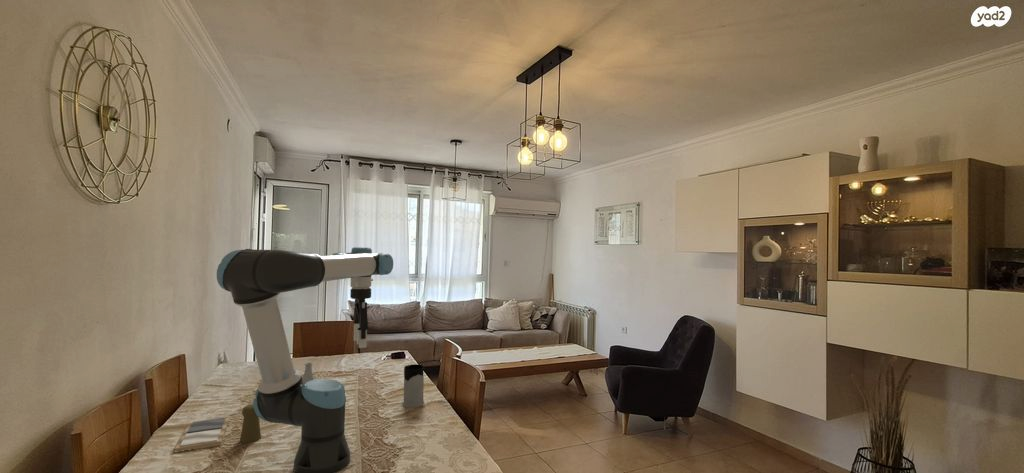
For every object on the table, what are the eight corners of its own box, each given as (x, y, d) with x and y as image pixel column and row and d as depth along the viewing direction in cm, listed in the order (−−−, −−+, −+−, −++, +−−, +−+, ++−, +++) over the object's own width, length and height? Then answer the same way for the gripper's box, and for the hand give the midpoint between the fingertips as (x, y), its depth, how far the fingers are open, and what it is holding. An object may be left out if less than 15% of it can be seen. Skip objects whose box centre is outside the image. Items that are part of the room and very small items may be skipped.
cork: (256, 433, 148) (257, 401, 149) (264, 438, 144) (265, 405, 145) (236, 439, 144) (237, 405, 144) (243, 445, 140) (244, 410, 140)
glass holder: (407, 409, 173) (408, 370, 173) (394, 399, 184) (394, 363, 185) (428, 404, 178) (428, 367, 178) (413, 395, 189) (414, 360, 190)
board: (221, 445, 140) (221, 440, 140) (174, 452, 134) (174, 447, 134) (229, 420, 159) (229, 416, 159) (189, 426, 154) (189, 421, 154)
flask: (299, 384, 203) (300, 362, 203) (316, 382, 206) (317, 360, 206) (299, 388, 196) (299, 366, 196) (316, 386, 199) (317, 364, 199)
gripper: (377, 290, 158) (375, 349, 157) (366, 284, 180) (364, 336, 180) (355, 291, 155) (353, 351, 154) (346, 285, 177) (345, 338, 176)
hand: (359, 343), depth 167 cm, fingers open, 13 cm apart
